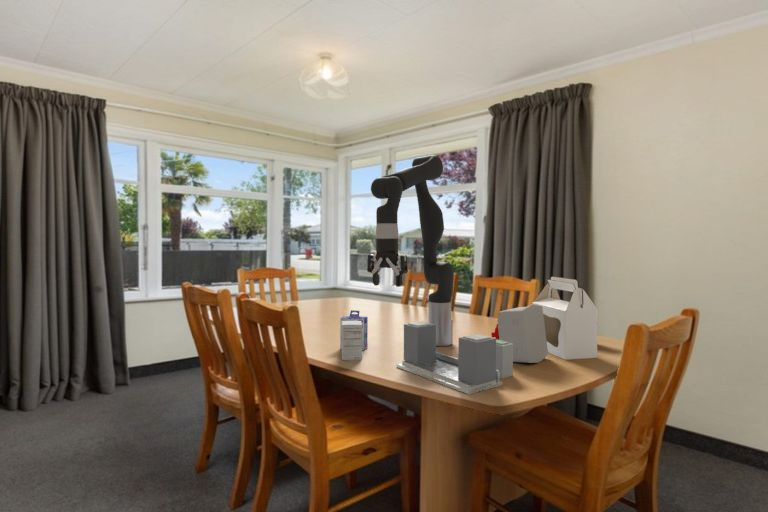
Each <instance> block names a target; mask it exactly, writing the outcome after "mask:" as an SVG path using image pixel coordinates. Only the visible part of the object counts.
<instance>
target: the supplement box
mask: <svg viewBox="0 0 768 512" xmlns="http://www.w3.org/2000/svg"><path fill="white" fill-rule="evenodd" d="M341 342H342V349H341V360H342V361H361V360H363V350H362V322H361V321H342V325H341Z"/></svg>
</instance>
